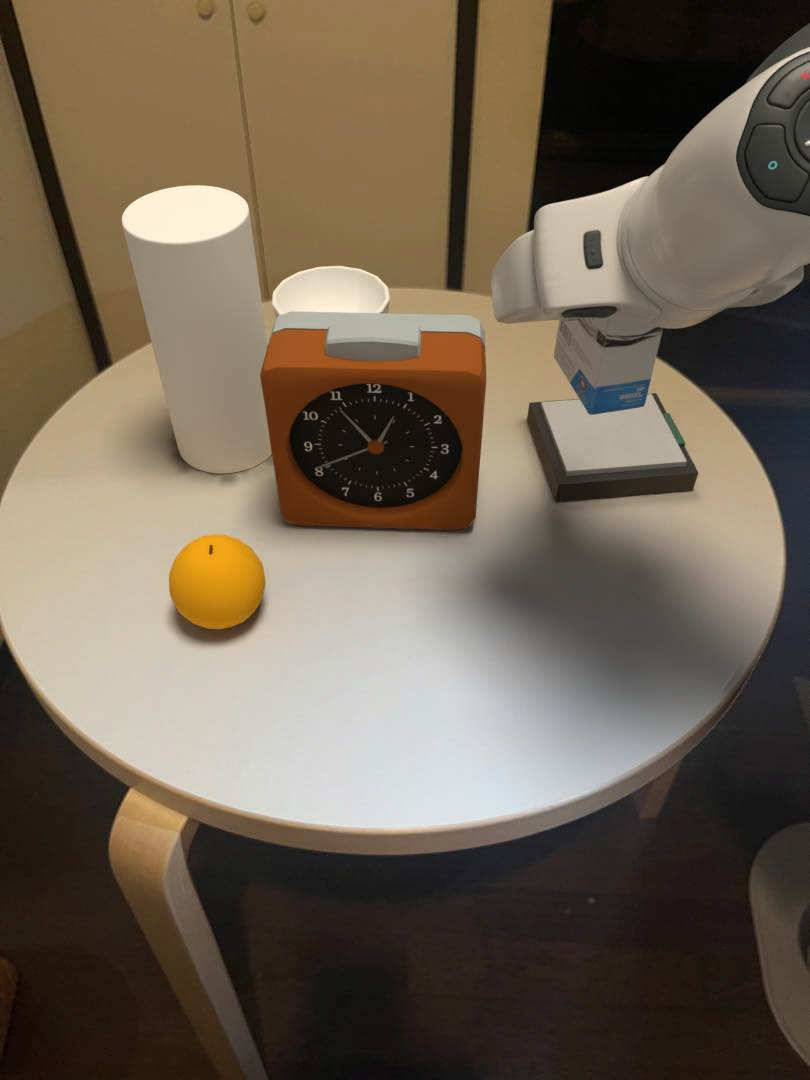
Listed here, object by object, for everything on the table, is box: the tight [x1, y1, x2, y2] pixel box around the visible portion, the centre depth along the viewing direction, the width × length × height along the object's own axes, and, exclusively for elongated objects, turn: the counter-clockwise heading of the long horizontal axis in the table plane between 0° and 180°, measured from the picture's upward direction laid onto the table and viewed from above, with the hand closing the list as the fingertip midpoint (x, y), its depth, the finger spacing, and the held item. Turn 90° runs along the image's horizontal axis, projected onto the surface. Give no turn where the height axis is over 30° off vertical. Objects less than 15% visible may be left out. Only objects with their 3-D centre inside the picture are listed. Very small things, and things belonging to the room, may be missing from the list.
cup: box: [271, 265, 391, 320], centre depth 94 cm, size 12×12×11 cm
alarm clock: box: [260, 311, 487, 531], centre depth 77 cm, size 18×9×21 cm, turn 87°
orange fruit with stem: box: [168, 533, 266, 630], centre depth 73 cm, size 8×8×8 cm
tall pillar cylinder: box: [121, 184, 272, 474], centre depth 82 cm, size 11×11×25 cm
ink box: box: [553, 318, 664, 415], centre depth 66 cm, size 8×5×12 cm, turn 13°
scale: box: [526, 392, 699, 503], centre depth 88 cm, size 14×13×3 cm
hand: (608, 307), depth 66 cm, fingers closed on ink box, 5 cm apart
